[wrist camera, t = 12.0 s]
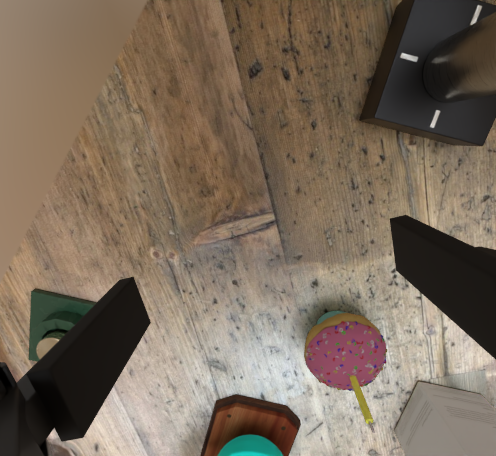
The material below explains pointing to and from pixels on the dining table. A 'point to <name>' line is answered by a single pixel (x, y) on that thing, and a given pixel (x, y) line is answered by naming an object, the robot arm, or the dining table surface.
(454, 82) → the hob knob
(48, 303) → the block
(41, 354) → the button
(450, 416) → the rectangular carton
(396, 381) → the dining table surface
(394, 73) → the hob panel
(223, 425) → the contraption on wooden base
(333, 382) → the cupcake
